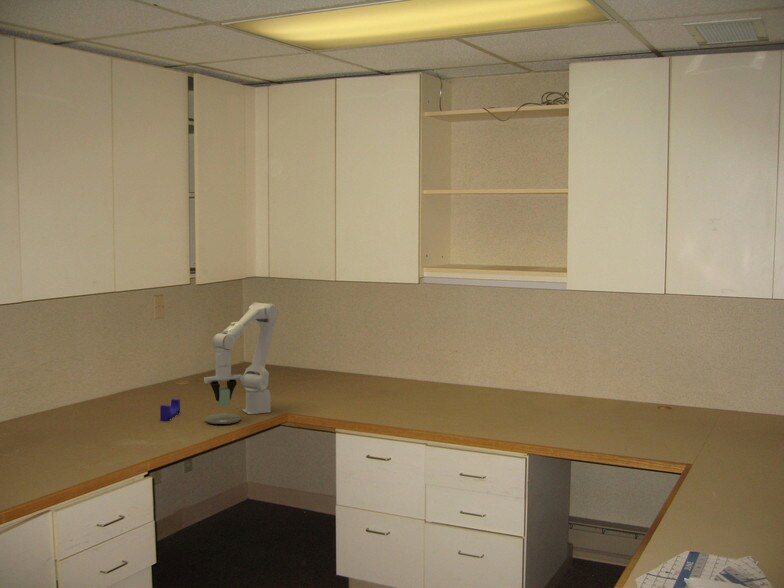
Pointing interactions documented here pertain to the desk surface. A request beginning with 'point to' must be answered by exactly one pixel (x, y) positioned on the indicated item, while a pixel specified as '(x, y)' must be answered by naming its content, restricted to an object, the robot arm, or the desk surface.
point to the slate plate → (223, 418)
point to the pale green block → (224, 397)
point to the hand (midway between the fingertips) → (223, 400)
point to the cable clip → (170, 410)
